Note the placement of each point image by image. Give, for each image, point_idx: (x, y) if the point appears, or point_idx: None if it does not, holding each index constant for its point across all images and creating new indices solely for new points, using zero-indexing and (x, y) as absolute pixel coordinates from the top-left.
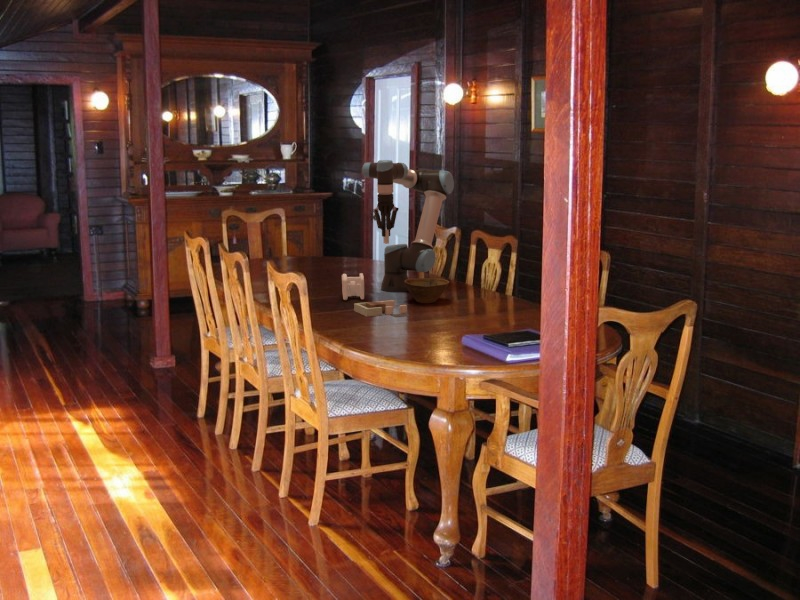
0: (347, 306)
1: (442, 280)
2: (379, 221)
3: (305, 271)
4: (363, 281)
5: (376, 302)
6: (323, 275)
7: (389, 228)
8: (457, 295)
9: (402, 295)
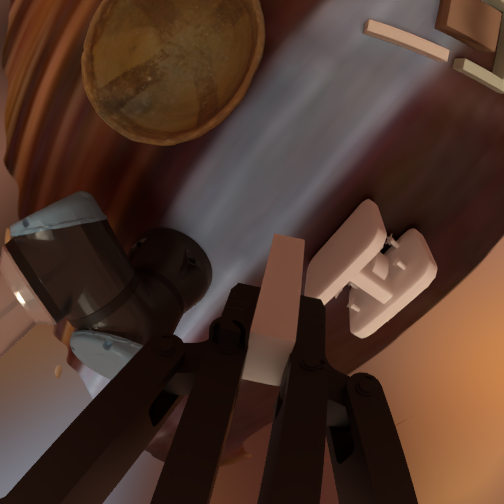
0: (466, 161)
1: (89, 68)
2: (395, 477)
3: (236, 450)
4: (378, 225)
5: (466, 25)
6: (229, 428)
7: (235, 341)
8: (71, 94)
9: (201, 184)
